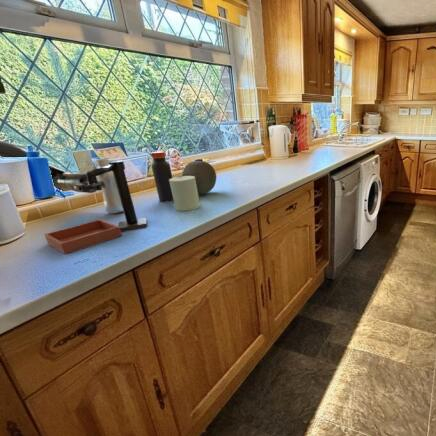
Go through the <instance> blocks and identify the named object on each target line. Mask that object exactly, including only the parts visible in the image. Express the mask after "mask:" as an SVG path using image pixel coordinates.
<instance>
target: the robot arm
mask: <svg viewBox="0 0 436 436" xmlns="http://www.w3.org/2000/svg"><path fill="white" fill-rule="evenodd" d="M28 150H29V149H27V148H26V147H23V146H20V145H18V144H13V143H10V142H5V141H2V140H0V156H1V157H0V158H2V157H26V156H27V155H26V152H27V151H28ZM49 168H50V171H51V175H52V179H53V183H54V186H55V187H56V188H58V189H59V190H62V191H67V192H70V191H71V192H76V193H84V194H86V193H87V194H93V193H96V192H97V191H98V192H100V191H102V188H101V185H100V184H99V183H96V184H89V183H88V180H87V176H86V173H87V172H69V171H67V170H65V169H63V168H61V167H58V166H56V165H54V164H51V163H49Z"/></svg>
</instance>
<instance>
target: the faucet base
mask: <svg viewBox="0 0 436 436" xmlns="http://www.w3.org/2000/svg"><path fill="white" fill-rule="evenodd" d="M113 175H114V178H115V182H116V186H117V189H118V193H119V196H120V200H121V204H122V207H123V211H122V212H123V215H124V218H125V220H124V221H119V222H118V225H117V226H119V227H120V231H121V232H125V231H131V230H137V229H143V228H148V219H147V217H141V218H138V217H137V213H136V210H135V205H134V202H133V199H132V195H131V191H130V187H129V183H128V180H127V176H126V172H125V170H120V171H113Z"/></svg>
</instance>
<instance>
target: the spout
mask: <svg viewBox="0 0 436 436" xmlns="http://www.w3.org/2000/svg"><path fill="white" fill-rule="evenodd" d="M97 168H98V167H97ZM97 168H94V169H92V170H89V171H87V172H85V173H86V176H87V180H88V183H89V184H96V183H98V181H97V178H96V176H99V175H102V174H104V173H107V172H110V171H120V170H124V171H125V170H126V166H125V163H124V160H111V161H109V165H107V166H104V167H101V168H98V169H97Z"/></svg>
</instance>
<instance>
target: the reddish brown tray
mask: <svg viewBox="0 0 436 436" xmlns="http://www.w3.org/2000/svg"><path fill="white" fill-rule="evenodd" d="M44 237H45V240H46V242H47V245H48V246H51V247H52V248H54V249H56V250H57V251H59V252H60V253H62V254H64V255H67V254H70V253H73V252H76V251H80V250H84V249H86V248H89V247H92V246H95V245H98V244H101V243H105V242H107V241H112V240H114V239H117V238H120V237H123V235H122V231H120V227H119V226H118V225H116V224H114V223H111V222H108V221H106V220H103V219H95V220H92V221H89V222H85V223H82V224H78V225H74V226H70V227H67V228H63V229H59V230H54V231H52V232H48V233H44Z"/></svg>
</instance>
